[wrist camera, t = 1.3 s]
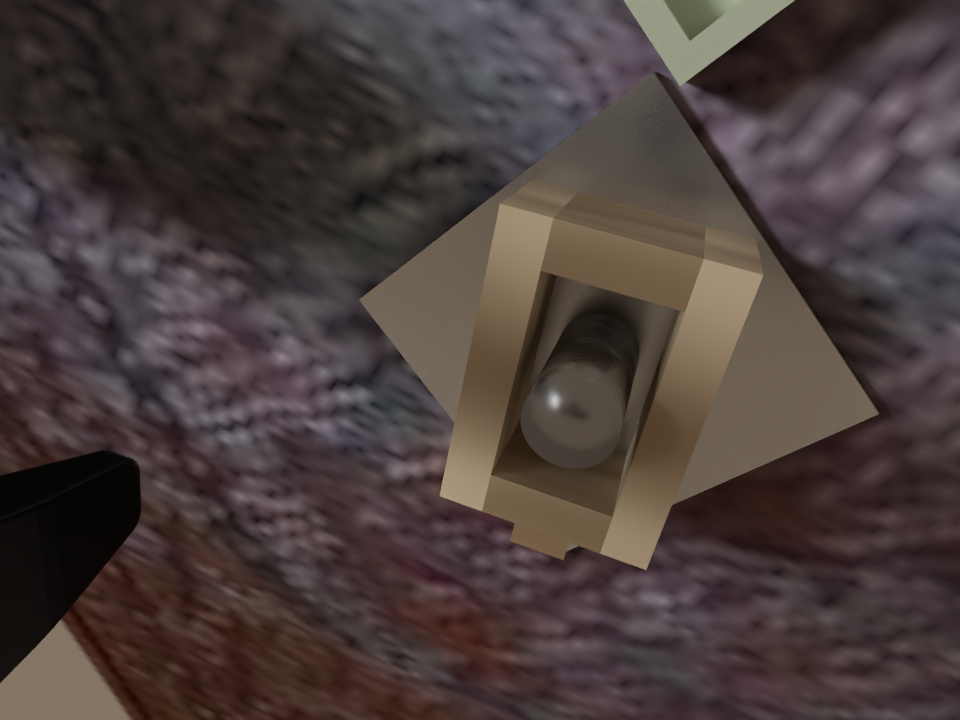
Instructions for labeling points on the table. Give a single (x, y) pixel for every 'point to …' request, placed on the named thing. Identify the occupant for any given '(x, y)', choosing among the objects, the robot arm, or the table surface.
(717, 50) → the tray
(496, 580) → the table surface
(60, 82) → the table surface
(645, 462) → the wooden rectangular frame
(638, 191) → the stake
